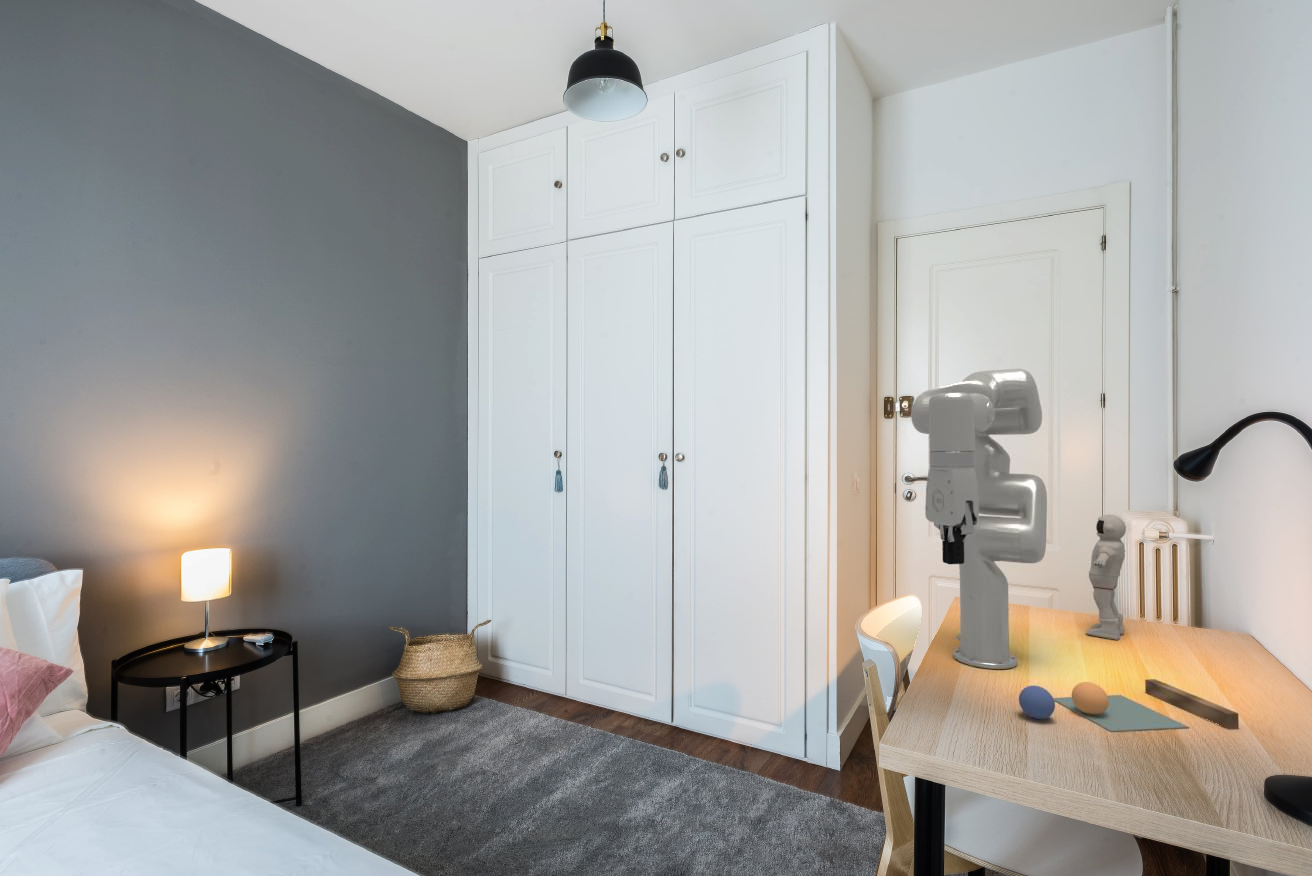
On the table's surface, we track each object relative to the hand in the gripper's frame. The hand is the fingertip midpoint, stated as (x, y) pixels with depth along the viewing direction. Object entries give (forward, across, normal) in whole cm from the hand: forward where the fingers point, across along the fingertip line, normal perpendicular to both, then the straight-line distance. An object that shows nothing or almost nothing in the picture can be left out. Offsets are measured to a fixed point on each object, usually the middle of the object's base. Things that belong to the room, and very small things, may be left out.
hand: (953, 563), depth 116 cm
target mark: (+26, +6, +27) cm, 38 cm away
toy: (+27, -38, +64) cm, 79 cm away
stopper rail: (+26, +6, +41) cm, 49 cm away
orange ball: (+24, +5, +22) cm, 33 cm away
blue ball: (+23, +6, +11) cm, 27 cm away
